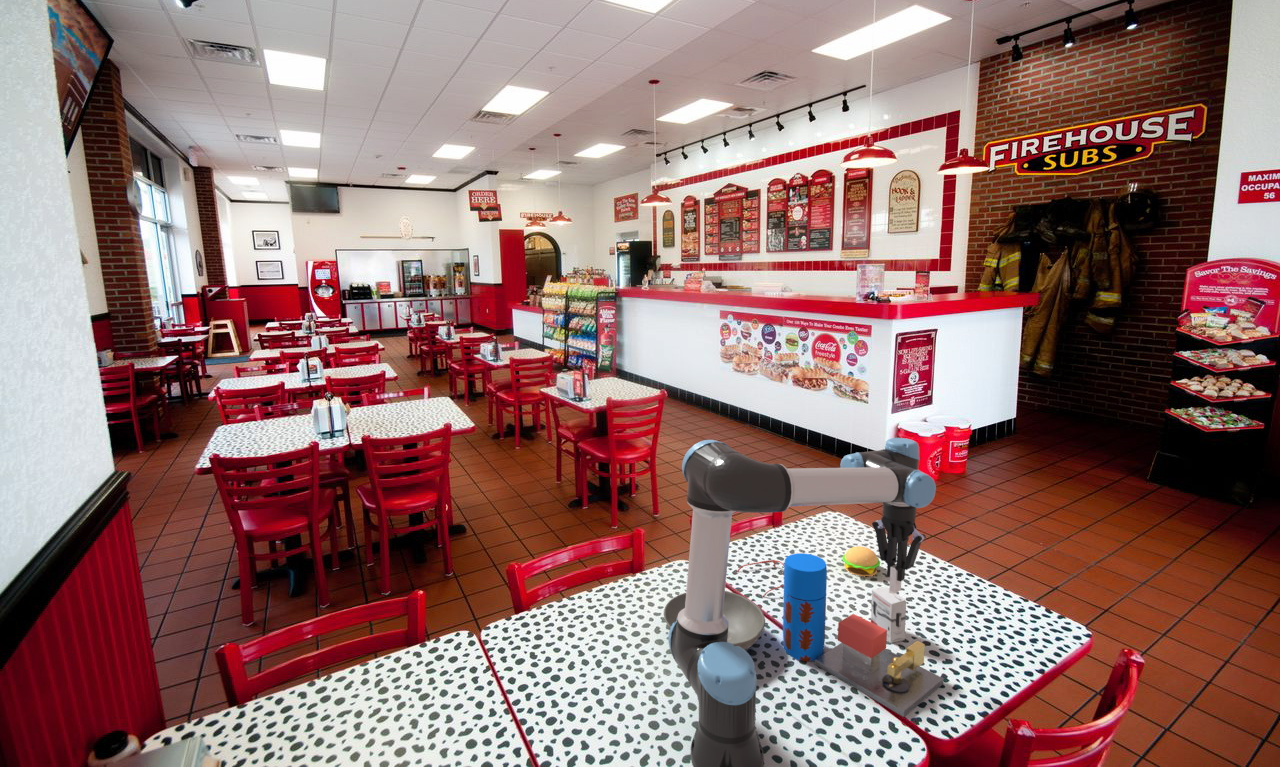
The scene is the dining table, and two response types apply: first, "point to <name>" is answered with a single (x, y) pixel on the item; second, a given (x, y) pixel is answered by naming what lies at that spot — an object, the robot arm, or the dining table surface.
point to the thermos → (804, 606)
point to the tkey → (906, 661)
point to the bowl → (739, 612)
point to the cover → (862, 635)
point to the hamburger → (861, 561)
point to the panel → (880, 677)
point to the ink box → (889, 613)
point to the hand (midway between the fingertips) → (895, 590)
